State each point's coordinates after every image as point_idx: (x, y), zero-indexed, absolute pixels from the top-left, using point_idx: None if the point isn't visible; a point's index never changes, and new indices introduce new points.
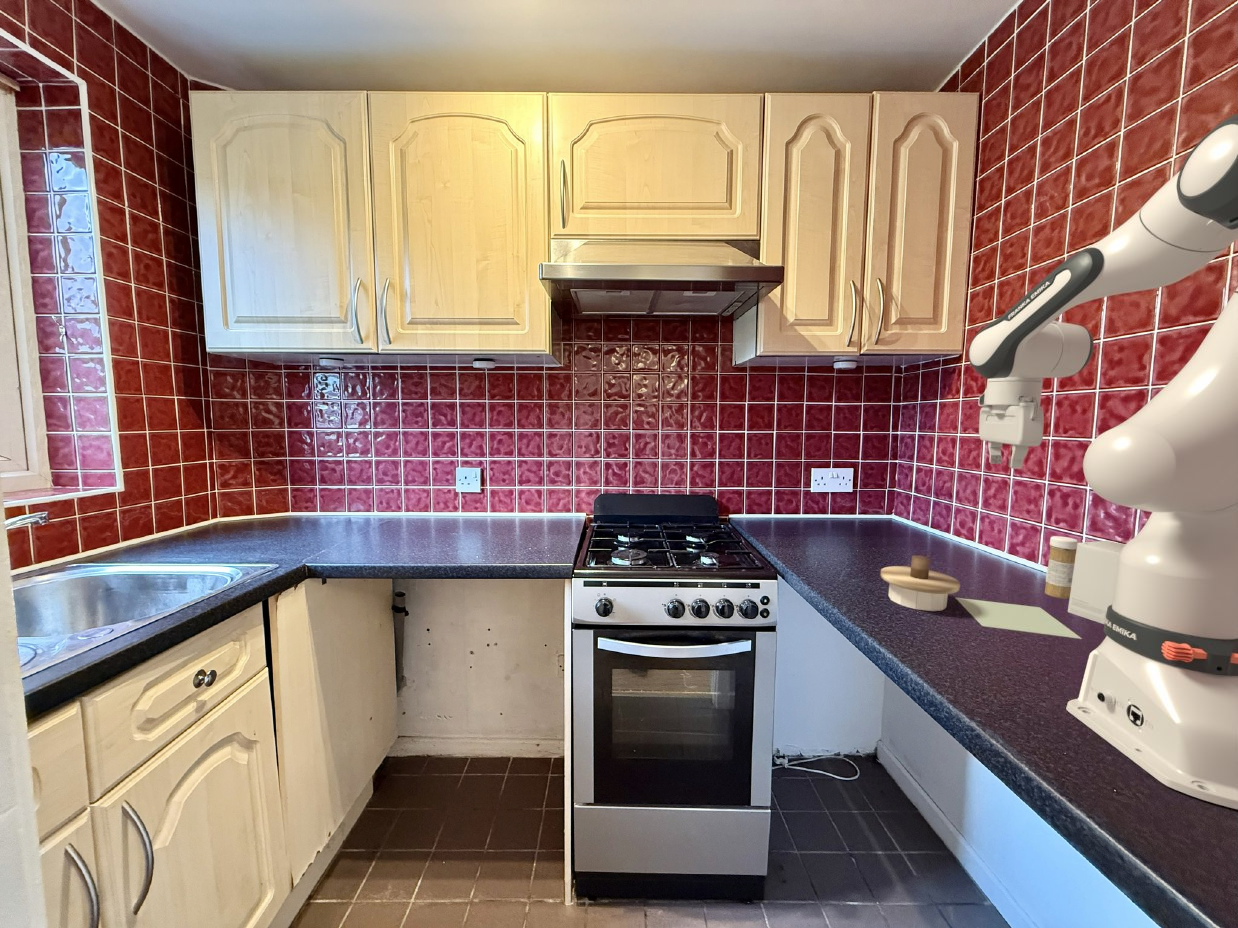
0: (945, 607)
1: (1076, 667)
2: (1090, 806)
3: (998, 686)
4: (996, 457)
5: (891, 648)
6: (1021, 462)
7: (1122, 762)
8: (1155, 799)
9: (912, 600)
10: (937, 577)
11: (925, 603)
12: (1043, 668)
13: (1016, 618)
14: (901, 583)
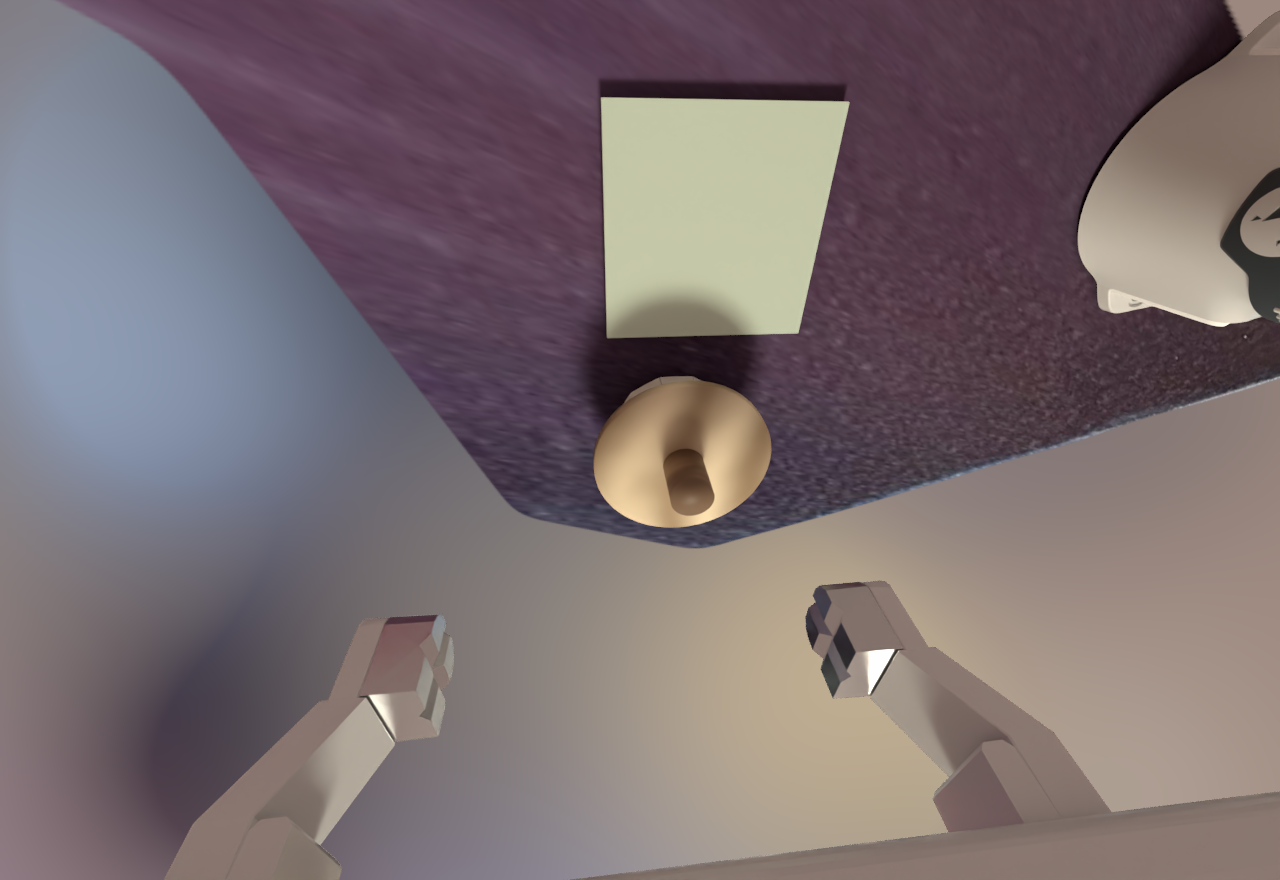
0: (698, 379)
1: (971, 203)
2: (1249, 373)
3: (1019, 377)
4: (429, 697)
5: (892, 485)
6: (911, 630)
7: None
8: None
9: None
10: (673, 428)
11: None
12: (970, 277)
13: (730, 229)
14: (742, 500)
